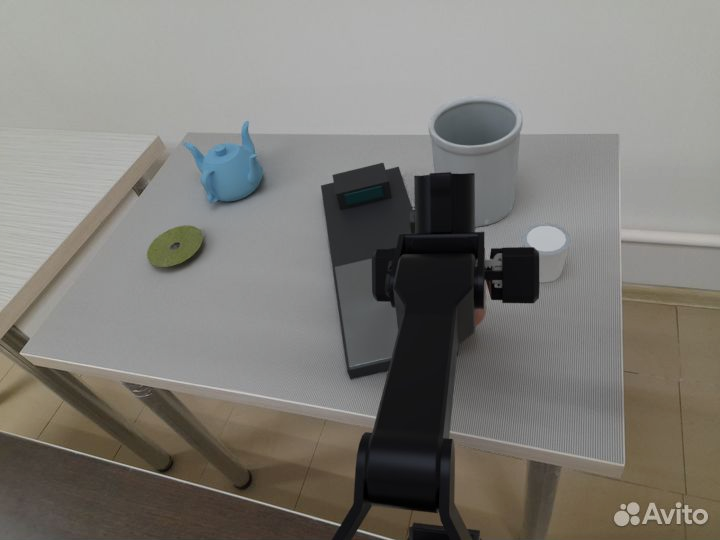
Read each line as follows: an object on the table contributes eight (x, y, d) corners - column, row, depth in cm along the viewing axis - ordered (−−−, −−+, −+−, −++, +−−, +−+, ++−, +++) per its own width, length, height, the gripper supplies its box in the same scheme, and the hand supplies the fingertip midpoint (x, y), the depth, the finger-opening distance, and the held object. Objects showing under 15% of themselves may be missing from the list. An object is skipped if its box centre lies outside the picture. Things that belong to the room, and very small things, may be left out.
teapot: (207, 217, 109) (186, 178, 101) (201, 177, 119) (181, 139, 112) (274, 194, 110) (258, 153, 102) (262, 156, 120) (247, 117, 113)
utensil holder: (525, 180, 98) (530, 95, 85) (510, 235, 89) (512, 149, 76) (448, 173, 103) (442, 92, 91) (427, 224, 95) (416, 143, 82)
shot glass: (518, 283, 82) (519, 252, 77) (522, 251, 86) (524, 220, 81) (565, 288, 80) (569, 256, 75) (567, 255, 84) (571, 223, 79)
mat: (152, 242, 106) (147, 235, 105) (205, 225, 107) (201, 218, 105) (150, 280, 99) (145, 273, 97) (207, 262, 99) (203, 255, 98)
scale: (458, 355, 75) (455, 329, 71) (350, 379, 76) (340, 355, 71) (400, 176, 106) (395, 149, 101) (323, 194, 106) (315, 169, 102)
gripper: (544, 196, 50) (533, 206, 65) (357, 203, 55) (387, 211, 70) (544, 311, 51) (533, 295, 66) (359, 308, 56) (388, 293, 71)
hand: (457, 270), depth 68 cm, fingers closed on cup, 7 cm apart
